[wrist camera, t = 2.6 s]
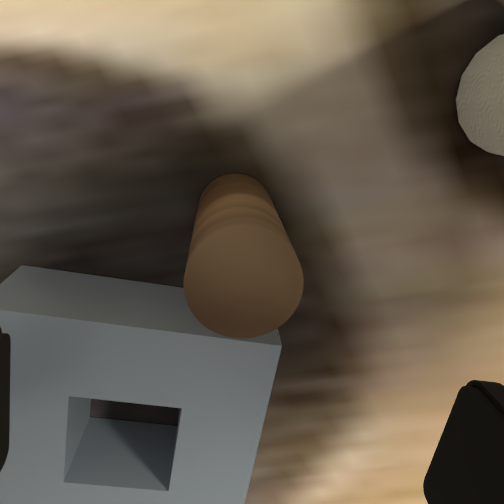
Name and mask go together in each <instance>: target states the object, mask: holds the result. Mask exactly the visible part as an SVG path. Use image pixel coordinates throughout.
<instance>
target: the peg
mask: <svg viewBox="0 0 504 504" xmlns="http://www.w3.org/2000/svg"><path fill="white" fill-rule="evenodd" d="M183 285H184V294H185V299H186V302H187V304H188V307H189V308H190V310H191V312H192V313H193V315H194V316H195V317H196V319H197V320H198V321H199V322H200V323H201V324H203V325H204V326H205V327H206V328H208V329H210V330H211V331H213V332H215V333H218V334H220V335H223V336H226V337H231V338H241V339H242V338H253V337H258V336H262V335H265V334H267V333H270V332H272V331H273V330H275V329H277V328H278V327H280V326H281V325H283V324H284V323H285V322H286V321H287V320H288V319H289V318H290V317H291V316H292V314H293V313H294V312H295V310H296V308H297V307H298V305H299V302H300V300H301V297H302V293H303V287H304V278H303V271H302V267H301V264H300V262H299V260H298V257H297V255H296V253H295V251H294V249H293V247H292V244H291V242H290V240H289V238H288V236H287V233H286V231H285V229H284V227H283V225H282V222H281V220H280V218H279V216H278V214H277V211H276V209H275V207H274V205H273V203H272V200H271V198H270V196H269V194H268V192H267V190H266V189H265V187H264V186H263V185H262V184H261V183H260V182H259V181H257V180H256V179H255V178H253V177H251V176H248V175H245V174H241V173H230V174H225V175H222V176H220V177H217V178H216V179H214V180H213V181H211V182H210V183H209V184H208V185H207V186H206V188H205V189H204V190H203V192H202V194H201V197H200V199H199V204H198V209H197V214H196V219H195V224H194V229H193V234H192V239H191V244H190V249H189V254H188V259H187V265H186V270H185V275H184V284H183Z"/></svg>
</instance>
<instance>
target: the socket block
mask: <svg viewBox="0 0 504 504" xmlns="http://www.w3.org/2000/svg"><path fill="white" fill-rule="evenodd" d="M0 327H1V330H2V333H8V334H9V335H10V339H11V357H10V431H9V451H8V455H7V459H6V461H5V464H4V466H3V468H2V470H1V472H0V504H245V499H246V495H247V491H248V487H249V482H250V478H251V474H252V470H253V466H254V461H255V457H256V453H257V449H258V445H259V440H260V436H261V432H262V428H263V424H264V419H265V415H266V411H267V407H268V403H269V398H270V394H271V390H272V386H273V382H274V377H275V373H276V369H277V365H278V361H279V356H280V352H281V348H282V344H281V340H280V335H279V331H278V328H277V329H275V330H273V331H272V332H270V333H267V334H265V335H262V336H258V337H253V338H242V339H241V338H231V337H226V336H223V335H220V334H218V333H215V332H213V331H211V330H210V329H208V328H206V327H205V326H204V325H203V324H201V323H200V322H199V321H198V320H197V319H196V317H195V316H194V315H193V313H192V312H191V310H190V308H189V307H188V304H187V302H186V299H185V294H184V288H182V287H175V286H167V285H160V284H153V283H146V282H139V281H132V280H125V279H118V278H111V277H103V276H96V275H89V274H82V273H75V272H68V271H61V270H54V269H47V268H40V267H32V266H25V265H21V266H20V267H19V268H18V269H17V270H16V271H14V272H13V273H12V274H11V275H10V276H9V277H8V278H6V279H5V280H4V281H3V282H2V283H1V284H0ZM91 399H100V400H109V401H118V402H128V403H137V404H146V405H155V406H165V407H174V408H180V411H179V417H178V424H177V426H172V425H163V424H153V423H143V422H133V421H124V420H114V419H104V418H94V417H90V408H91Z"/></svg>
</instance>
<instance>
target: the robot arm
mask: <svg viewBox="0 0 504 504" xmlns="http://www.w3.org/2000/svg"><path fill="white" fill-rule="evenodd" d="M10 357H11V339H10V335H9V334H8V333H2V330H1V327H0V472H1V470H2V468H3V466H4V464H5V461H6V459H7V455H8V451H9V431H10ZM423 488H424V494H425V498H426V500H427V502H428V504H504V386H503V385H502V384H500V383H496V382H487V381H478V380H472V381H470V382H469V383H468V384H467V385H466V386H463V387H462V388H461V389H460V391H459V392H458V395H457V398H456V400H455V403H454V405H453V408H452V410H451V413H450V415H449V418H448V420H447V423H446V426H445V428H444V431H443V433H442V436H441V438H440V441H439V443H438V446H437V448H436V451H435V453H434V456H433V459H432V461H431V464H430V466H429V469H428V471H427V474H426V476H425V479H424V484H423Z"/></svg>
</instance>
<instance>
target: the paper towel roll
mask: <svg viewBox="0 0 504 504" xmlns="http://www.w3.org/2000/svg"><path fill="white" fill-rule="evenodd" d="M456 106H457V114H458V122H459V124H460V125H461V127H462V129H463V130H464V132H465V134H466V135H467V137H468V139H469V140H470V141H471V142H472V143H474V144H475V145H477V146H479V147H480V148H482V149H483V150H485V151H487V152H489V153H493V154H497V155H502V156H504V34H502V35H499V36H497V37H496V38H495V39H493V40H492V41H491V42H490V43H488V44H487V45H486V46H485V47H483V48H482V49H481V50H480V51H478V52H477V53H476V54H475V56H474V57H473V59H472V60H471V62H470V63H469V65H468V66H467V68H466V70H465V71H464V73H463V74H462V76H461V80H460V84H459V88H458V93H457V97H456Z"/></svg>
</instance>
